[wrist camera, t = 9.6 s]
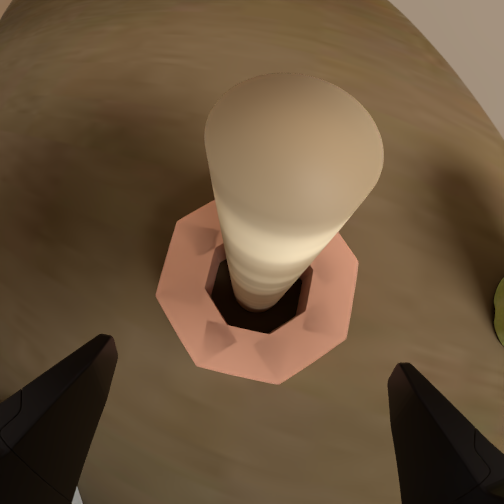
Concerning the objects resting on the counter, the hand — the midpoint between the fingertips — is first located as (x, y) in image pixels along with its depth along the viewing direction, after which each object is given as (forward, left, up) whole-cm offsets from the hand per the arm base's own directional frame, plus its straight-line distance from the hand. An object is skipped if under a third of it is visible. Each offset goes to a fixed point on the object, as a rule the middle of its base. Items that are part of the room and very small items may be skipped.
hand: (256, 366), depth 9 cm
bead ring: (+4, 0, -8) cm, 9 cm away
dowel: (+4, 0, -8) cm, 9 cm away
